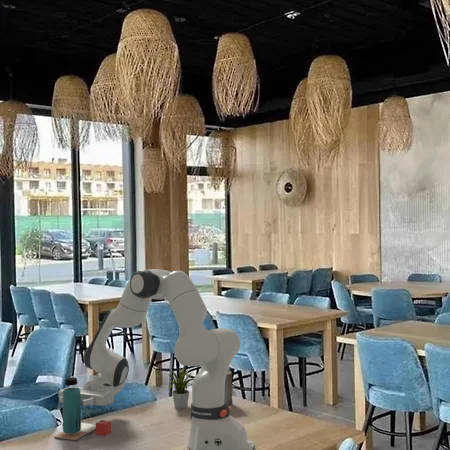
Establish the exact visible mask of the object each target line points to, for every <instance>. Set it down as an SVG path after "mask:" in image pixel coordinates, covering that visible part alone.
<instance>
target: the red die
mask: <svg viewBox="0 0 450 450" xmlns="http://www.w3.org/2000/svg"><path fill="white" fill-rule="evenodd" d="M95 424H96V431H95V435H97V436H104V437H105V436H108V435H109V434H111V433H112V420H105V419H101V420H99V421H98V422H96V423H95Z"/></svg>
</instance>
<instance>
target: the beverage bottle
mask: <svg viewBox="0 0 450 450" xmlns="http://www.w3.org/2000/svg"><path fill="white" fill-rule="evenodd" d="M64 384H65V386H67V387H65V389H64V388H63V389H64V390H63V392H62V393H63V403H62V419H61V420H62V421H61V423H62V431H64V432H65V433H76V432H79V431H80V430H81V422H82V413H81V412H82V410H81V407H82V403H81V400H80V389H79V388H78V387H79V386H76V385H78V378H77V377H67V378H65V383H64Z"/></svg>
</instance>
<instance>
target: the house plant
mask: <svg viewBox="0 0 450 450" xmlns="http://www.w3.org/2000/svg"><path fill="white" fill-rule="evenodd" d="M188 371H189V369H186V370H185V369H184V368H181V366H179V370H178V375H177V374H176V372H175V371H173V370H172V371H171V372H172V373H170V372H169V374H168V373H167V374H164V375H165V376H166V375H168V376H169V377H170V378H171V379H170V380H168V382H170V383H171V384H169V386H168V388H169V389H171V388H174V390H173V391H171V392H172V399H173V405H174V408H175V409H180V410H182V408H183V409H186V407H188V404H189V397H190V390H187V389H188V387H189V386H191V387H192V382H191V381H193V379H194V377H195V376H196V375H197V374H196V373H195V374H194V372H195V370H194V371H191V372H190V373H189V374H188V375H187V376H185V375H186V374H187V373H188ZM193 375H195V376H193Z"/></svg>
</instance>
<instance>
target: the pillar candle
mask: <svg viewBox="0 0 450 450" xmlns="http://www.w3.org/2000/svg"><path fill="white" fill-rule="evenodd" d="M232 374H233V372H232V371H231V370H229V369H228V371H227V374H226V379H225V395H224V402H225V404H226V405H227V406H228V407H229V406H231V407H232V406H233V379H232V377H233V375H232Z"/></svg>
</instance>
